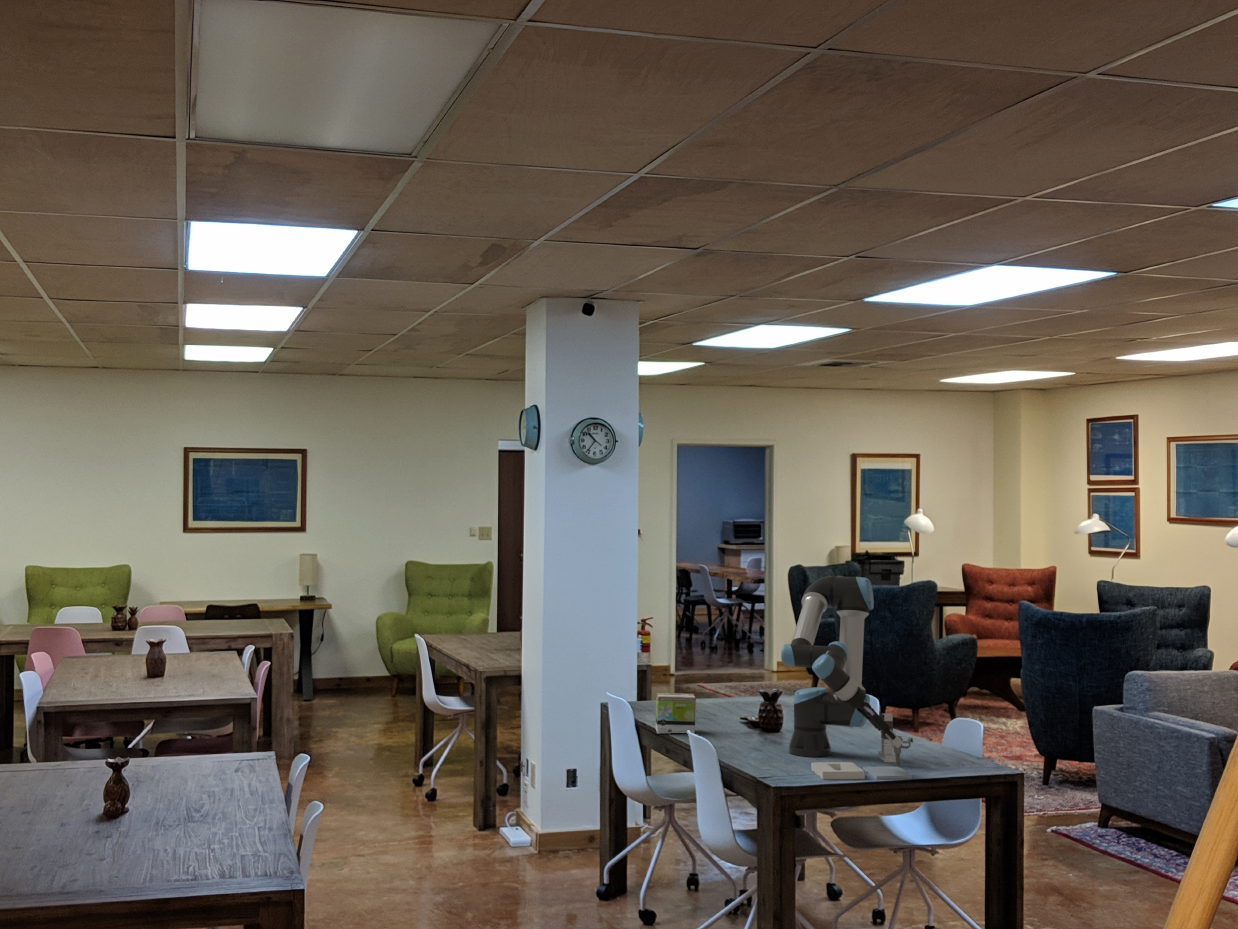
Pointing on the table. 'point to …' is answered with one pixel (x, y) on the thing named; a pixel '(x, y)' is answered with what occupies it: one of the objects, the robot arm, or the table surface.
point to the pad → (887, 773)
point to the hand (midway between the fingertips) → (898, 744)
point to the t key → (887, 741)
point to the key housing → (838, 770)
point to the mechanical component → (898, 750)
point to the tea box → (675, 712)
